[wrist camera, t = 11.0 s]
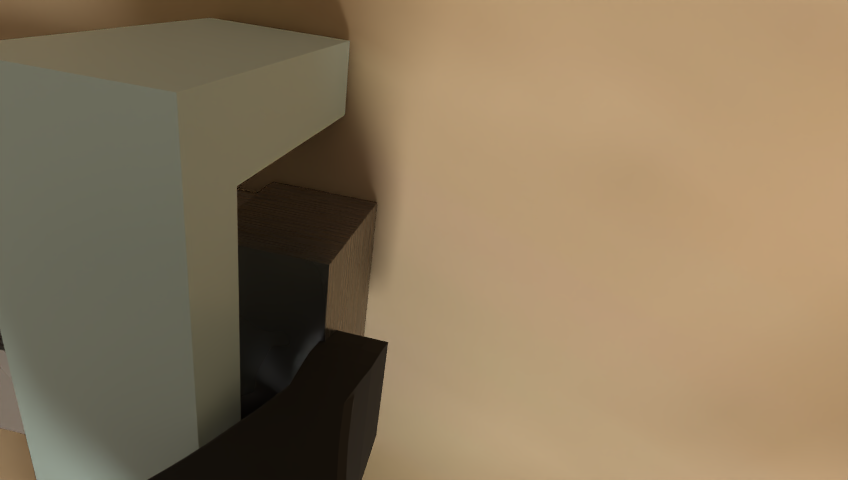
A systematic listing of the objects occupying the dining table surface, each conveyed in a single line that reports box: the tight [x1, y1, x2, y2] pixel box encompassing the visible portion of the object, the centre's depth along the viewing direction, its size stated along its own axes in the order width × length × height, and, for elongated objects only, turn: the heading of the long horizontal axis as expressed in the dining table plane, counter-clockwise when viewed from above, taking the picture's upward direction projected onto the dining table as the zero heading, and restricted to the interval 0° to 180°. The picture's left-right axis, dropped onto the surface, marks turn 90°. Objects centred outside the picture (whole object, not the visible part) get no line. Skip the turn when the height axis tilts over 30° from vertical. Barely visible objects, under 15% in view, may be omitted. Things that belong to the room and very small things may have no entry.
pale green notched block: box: [0, 18, 350, 480], centre depth 9 cm, size 10×2×5 cm, turn 173°
